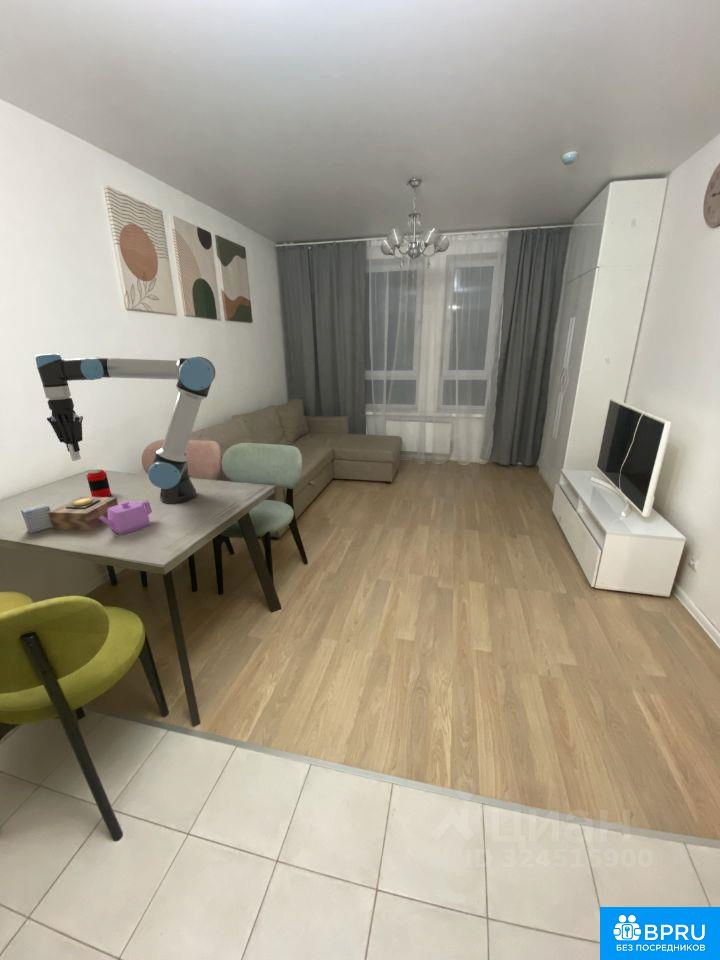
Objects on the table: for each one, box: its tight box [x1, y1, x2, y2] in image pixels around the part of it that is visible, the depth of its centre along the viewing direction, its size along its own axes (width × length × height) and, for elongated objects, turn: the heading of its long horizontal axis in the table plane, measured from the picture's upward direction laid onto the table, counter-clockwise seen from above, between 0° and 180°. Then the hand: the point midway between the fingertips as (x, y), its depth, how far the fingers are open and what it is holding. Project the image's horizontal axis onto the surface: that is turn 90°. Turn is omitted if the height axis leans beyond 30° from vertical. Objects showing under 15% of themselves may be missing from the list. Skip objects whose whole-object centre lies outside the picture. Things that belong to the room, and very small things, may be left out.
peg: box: [74, 498, 92, 506], centre depth 158 cm, size 6×6×8 cm
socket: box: [48, 496, 119, 531], centre depth 158 cm, size 16×16×8 cm
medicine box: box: [21, 503, 53, 534], centre depth 152 cm, size 8×4×9 cm, turn 141°
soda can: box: [86, 469, 112, 497], centre depth 184 cm, size 8×8×12 cm
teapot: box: [99, 500, 153, 536], centre depth 151 cm, size 18×10×10 cm, turn 143°
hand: (76, 459), depth 154 cm, fingers closed
